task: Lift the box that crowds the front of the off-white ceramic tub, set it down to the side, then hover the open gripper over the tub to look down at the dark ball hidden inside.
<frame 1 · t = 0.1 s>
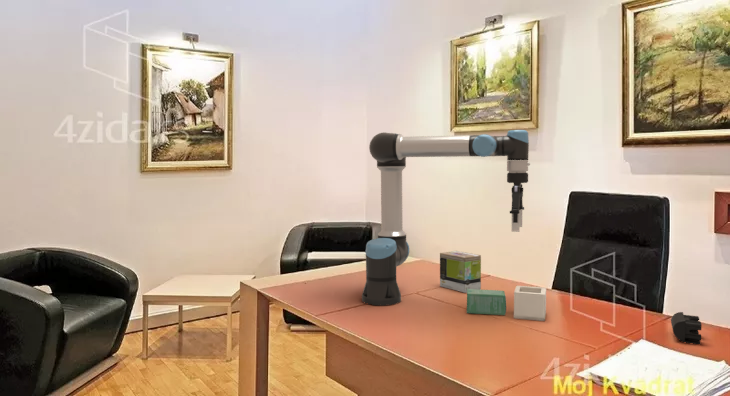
hand: (517, 229, 196), 28 cm above the table, tool pointing down, fingers open, 13 cm apart
tea box: (460, 288, 222), on the table
end cap: (685, 339, 158), on the table
box: (485, 312, 187), on the table
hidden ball: (530, 307, 182), point 3 cm above the table, touching tub
tub: (530, 315, 182), on the table, touching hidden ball
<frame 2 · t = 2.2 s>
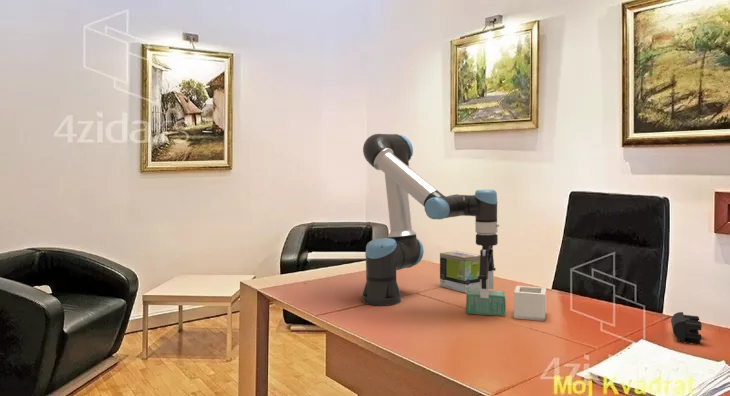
hand: (487, 293, 187), 7 cm above the table, tool pointing down, fingers open, 13 cm apart
nothing on the table moved.
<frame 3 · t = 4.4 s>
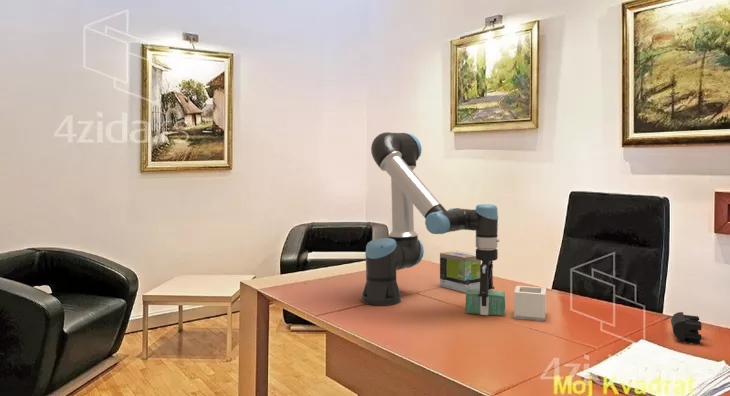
hand: (486, 310, 187), 0 cm above the table, tool pointing down, fingers open, 9 cm apart
box: (485, 312, 187), on the table, touching gripper
everything else where it was.
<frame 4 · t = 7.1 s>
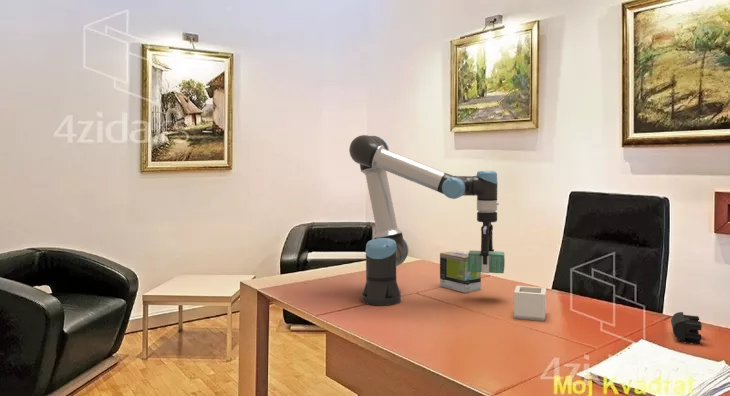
hand: (486, 270, 202), 11 cm above the table, tool pointing down, fingers closed on box, 8 cm apart
box: (486, 271, 202), point 11 cm above the table, touching gripper
everything else where it was.
when the fingers open (1 cm above the table, at t = 9.7 s): box stays where it is, on the table.
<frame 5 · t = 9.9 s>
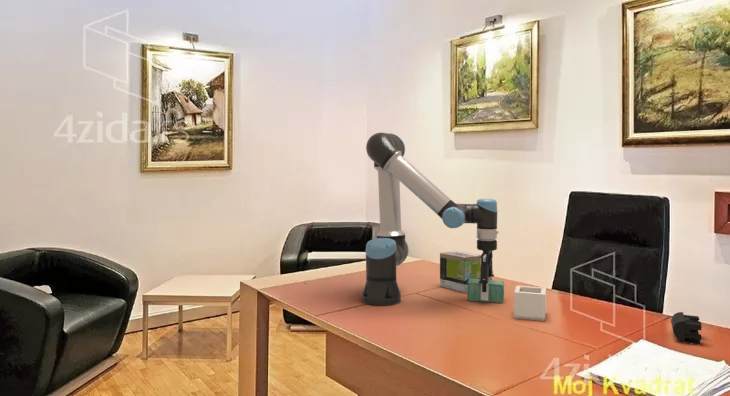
hand: (486, 296, 203), 1 cm above the table, tool pointing down, fingers open, 10 cm apart
box: (485, 300, 203), on the table
everything else where it was.
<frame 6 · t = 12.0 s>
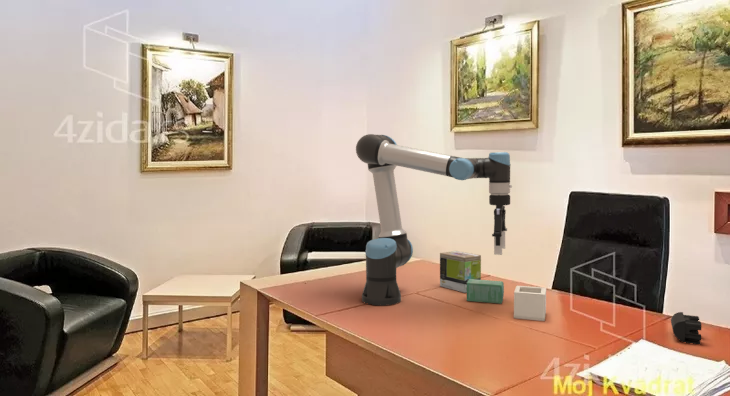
hand: (499, 251, 196), 20 cm above the table, tool pointing down, fingers open, 13 cm apart
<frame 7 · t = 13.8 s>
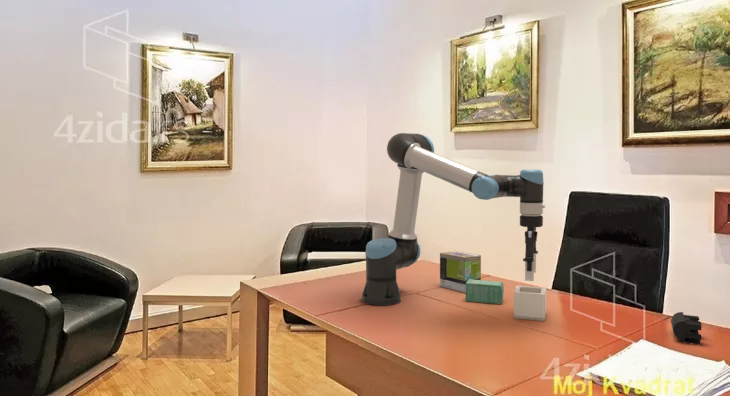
hand: (530, 276, 181), 14 cm above the table, tool pointing down, fingers open, 13 cm apart
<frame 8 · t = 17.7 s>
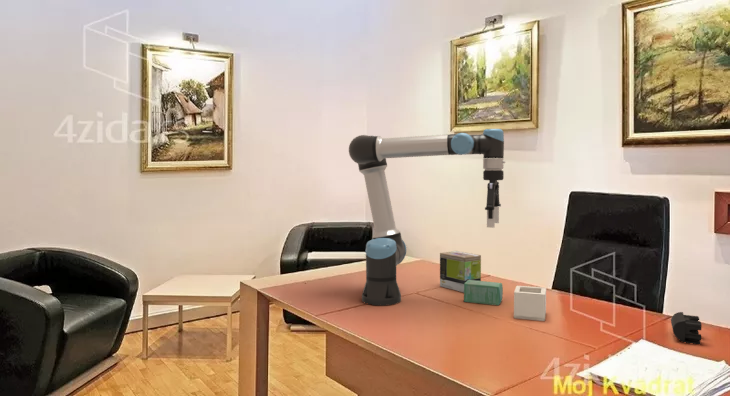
hand: (493, 225, 202), 29 cm above the table, tool pointing down, fingers open, 13 cm apart
box: (483, 302, 201), on the table
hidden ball: (530, 307, 181), point 3 cm above the table, tilted 25°, touching tub
everything else where it was.
at the end: box inside the target area (3.2 cm from its centre), on the table; box tilted 0°; tub moved 0.0 cm from its start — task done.
